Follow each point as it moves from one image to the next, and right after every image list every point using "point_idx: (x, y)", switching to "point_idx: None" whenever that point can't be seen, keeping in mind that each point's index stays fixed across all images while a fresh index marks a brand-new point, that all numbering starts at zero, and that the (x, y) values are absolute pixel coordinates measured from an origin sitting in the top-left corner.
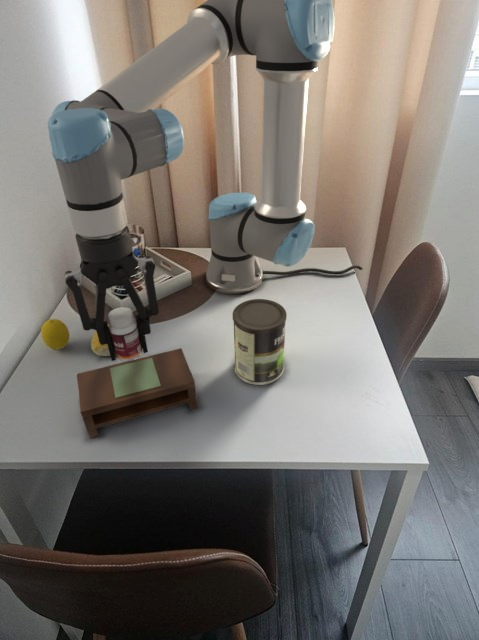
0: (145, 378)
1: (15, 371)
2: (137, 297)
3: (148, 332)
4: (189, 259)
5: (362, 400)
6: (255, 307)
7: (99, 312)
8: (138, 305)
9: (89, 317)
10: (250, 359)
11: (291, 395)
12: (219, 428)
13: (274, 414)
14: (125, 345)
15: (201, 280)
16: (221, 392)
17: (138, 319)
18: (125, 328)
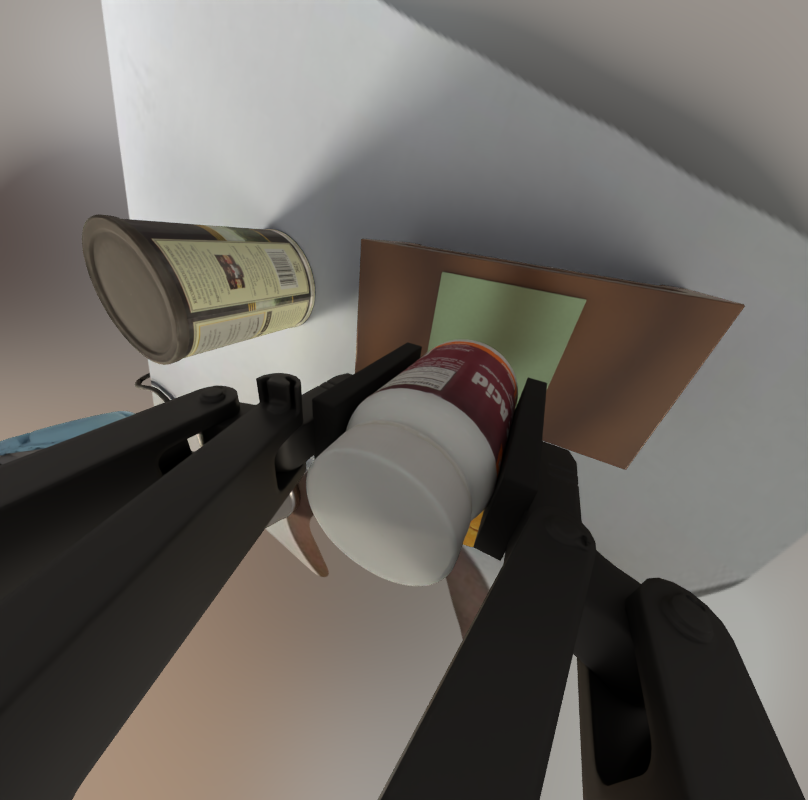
0: (466, 326)
1: (696, 589)
2: (87, 542)
3: (347, 377)
4: (309, 549)
5: (154, 90)
6: (142, 329)
7: (513, 706)
8: (194, 479)
9: (578, 665)
10: (244, 249)
11: (249, 174)
12: (389, 147)
13: (284, 133)
14: (464, 368)
15: (306, 508)
16: (352, 259)
17: (325, 436)
18: (404, 419)
